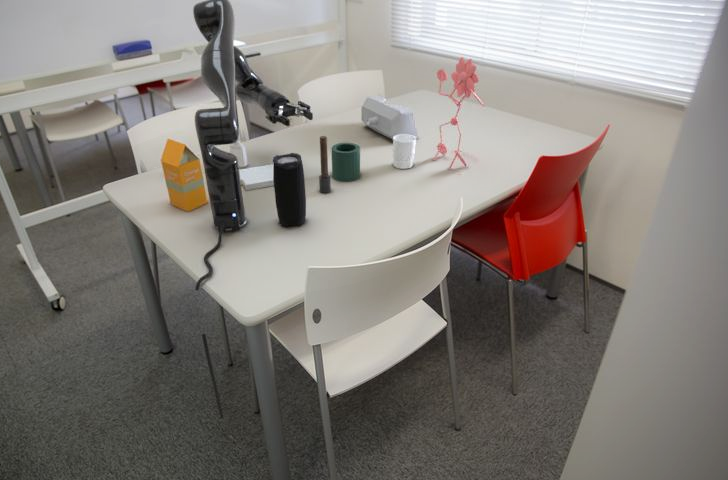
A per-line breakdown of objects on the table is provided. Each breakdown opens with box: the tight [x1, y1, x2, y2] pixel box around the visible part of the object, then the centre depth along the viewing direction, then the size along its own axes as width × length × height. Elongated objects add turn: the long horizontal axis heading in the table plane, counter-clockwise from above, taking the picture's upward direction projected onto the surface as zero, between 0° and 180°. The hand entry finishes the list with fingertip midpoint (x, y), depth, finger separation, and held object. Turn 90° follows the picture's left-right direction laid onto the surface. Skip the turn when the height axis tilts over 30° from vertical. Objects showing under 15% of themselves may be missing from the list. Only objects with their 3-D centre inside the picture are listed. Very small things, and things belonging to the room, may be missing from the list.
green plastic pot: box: [331, 142, 361, 182], centre depth 171 cm, size 9×9×10 cm
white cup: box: [392, 134, 417, 170], centre depth 177 cm, size 8×8×10 cm
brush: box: [318, 135, 332, 194], centre depth 159 cm, size 4×4×18 cm
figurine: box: [433, 56, 486, 176], centre depth 173 cm, size 15×26×35 cm, turn 26°
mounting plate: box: [239, 163, 274, 191], centre depth 172 cm, size 18×13×2 cm
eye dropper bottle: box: [229, 136, 248, 169], centre depth 180 cm, size 4×6×12 cm
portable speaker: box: [272, 152, 307, 228], centre depth 142 cm, size 9×9×20 cm
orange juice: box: [160, 138, 208, 212], centre depth 153 cm, size 8×9×20 cm
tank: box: [360, 94, 419, 141], centre depth 204 cm, size 25×16×12 cm, turn 29°
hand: (300, 120), depth 159 cm, fingers open, 8 cm apart
